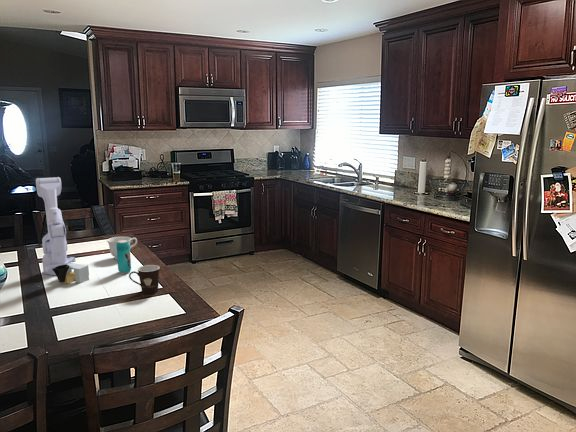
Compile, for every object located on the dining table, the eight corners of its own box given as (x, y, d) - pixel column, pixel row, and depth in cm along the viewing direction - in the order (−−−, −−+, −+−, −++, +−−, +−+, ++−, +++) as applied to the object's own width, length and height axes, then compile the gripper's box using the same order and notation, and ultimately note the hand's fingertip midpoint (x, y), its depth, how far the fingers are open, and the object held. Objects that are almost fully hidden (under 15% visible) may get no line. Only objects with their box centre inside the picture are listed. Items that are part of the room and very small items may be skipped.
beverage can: (127, 274, 215) (125, 243, 212) (115, 273, 217) (113, 242, 213) (133, 270, 221) (131, 239, 218) (122, 269, 222) (120, 239, 219)
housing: (58, 279, 209) (57, 265, 207) (68, 275, 213) (66, 262, 212) (80, 283, 204) (78, 268, 203) (89, 279, 208) (87, 265, 207)
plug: (60, 282, 205) (59, 271, 204) (81, 274, 216) (80, 263, 215) (68, 283, 203) (67, 272, 202) (89, 275, 214) (88, 264, 213)
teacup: (141, 258, 240) (140, 239, 238) (111, 263, 232) (110, 243, 230) (134, 252, 250) (133, 234, 248) (105, 257, 242) (104, 238, 240)
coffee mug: (164, 289, 198) (163, 266, 196) (152, 296, 190) (151, 272, 188) (141, 285, 202) (140, 263, 199) (128, 292, 194) (127, 269, 192)
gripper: (51, 257, 192) (54, 288, 194) (79, 248, 205) (82, 278, 208) (39, 255, 194) (42, 286, 197) (67, 246, 207) (70, 276, 210)
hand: (61, 282), depth 203 cm, fingers closed
